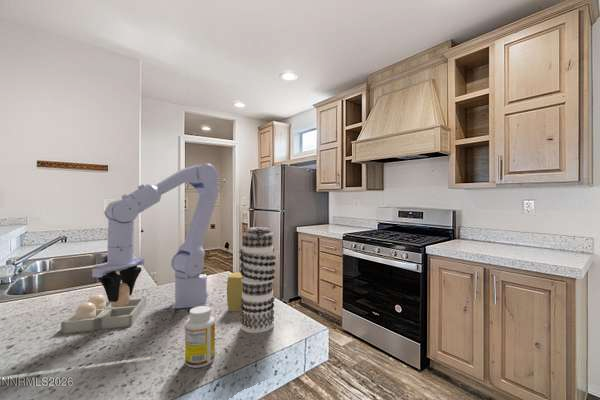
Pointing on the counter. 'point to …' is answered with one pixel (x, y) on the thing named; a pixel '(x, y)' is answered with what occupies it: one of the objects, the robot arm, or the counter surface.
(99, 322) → the carton
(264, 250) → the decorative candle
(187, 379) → the counter surface
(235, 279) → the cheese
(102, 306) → the pale egg
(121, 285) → the egg
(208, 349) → the supplement bottle
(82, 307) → the pale egg
